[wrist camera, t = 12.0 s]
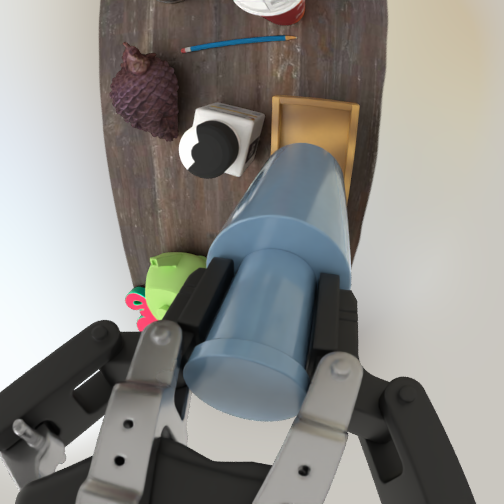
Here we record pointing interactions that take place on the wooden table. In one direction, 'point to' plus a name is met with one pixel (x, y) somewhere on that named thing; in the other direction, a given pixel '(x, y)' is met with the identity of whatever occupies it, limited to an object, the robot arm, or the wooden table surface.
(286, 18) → the paper cup
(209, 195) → the wooden table surface
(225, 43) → the pencil
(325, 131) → the tray
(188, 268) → the teapot
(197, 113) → the container
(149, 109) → the pine cone
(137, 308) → the squiggly shape
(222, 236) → the bottle
